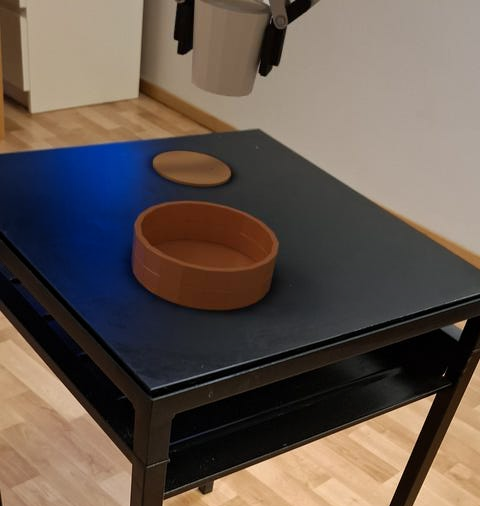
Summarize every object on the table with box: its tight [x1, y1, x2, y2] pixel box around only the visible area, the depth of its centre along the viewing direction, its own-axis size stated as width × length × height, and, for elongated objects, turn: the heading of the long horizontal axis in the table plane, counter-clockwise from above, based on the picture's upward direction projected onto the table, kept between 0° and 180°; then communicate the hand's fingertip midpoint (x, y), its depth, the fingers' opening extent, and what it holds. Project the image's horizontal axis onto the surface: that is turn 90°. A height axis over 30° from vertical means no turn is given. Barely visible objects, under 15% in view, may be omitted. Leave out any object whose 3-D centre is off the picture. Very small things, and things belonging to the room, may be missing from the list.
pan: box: [130, 200, 280, 311], centre depth 74 cm, size 14×14×4 cm
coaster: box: [152, 150, 232, 188], centre depth 94 cm, size 10×10×1 cm
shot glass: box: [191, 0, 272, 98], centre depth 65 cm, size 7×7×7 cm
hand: (225, 60), depth 66 cm, fingers closed on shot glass, 6 cm apart
